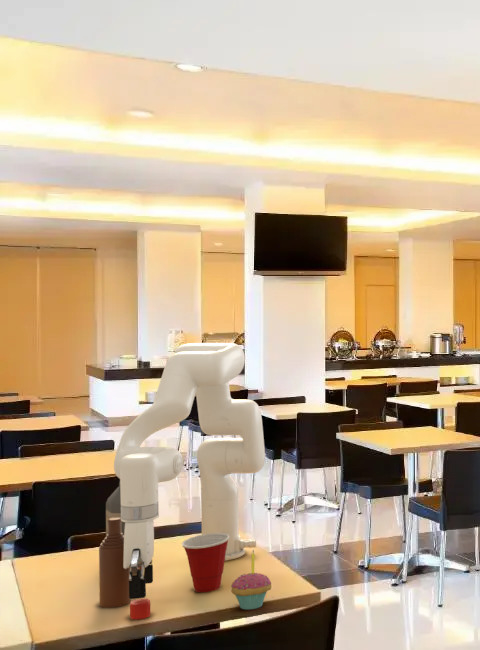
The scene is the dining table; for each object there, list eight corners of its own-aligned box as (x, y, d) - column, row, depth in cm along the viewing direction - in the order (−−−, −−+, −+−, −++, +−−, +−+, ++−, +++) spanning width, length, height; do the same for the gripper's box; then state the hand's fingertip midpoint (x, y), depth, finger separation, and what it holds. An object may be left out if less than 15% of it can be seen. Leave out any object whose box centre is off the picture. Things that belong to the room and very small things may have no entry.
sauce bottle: (133, 597, 200) (132, 514, 200) (128, 606, 194) (127, 520, 194) (102, 599, 199) (102, 516, 199) (96, 608, 193) (96, 522, 193)
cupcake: (236, 600, 197) (236, 547, 197) (274, 599, 198) (274, 546, 198) (227, 613, 189) (226, 558, 189) (267, 612, 189) (267, 556, 189)
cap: (130, 620, 185) (130, 605, 185) (129, 615, 188) (129, 600, 188) (151, 617, 187) (150, 602, 187) (149, 612, 190) (149, 597, 190)
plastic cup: (175, 587, 207) (175, 537, 207) (221, 579, 214) (220, 530, 214) (190, 599, 198) (189, 546, 198) (237, 589, 205) (236, 538, 205)
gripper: (128, 503, 195) (129, 579, 196) (113, 523, 179) (114, 606, 179) (164, 501, 197) (165, 576, 197) (152, 520, 180) (153, 602, 181)
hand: (141, 590), depth 188 cm, fingers open, 9 cm apart
